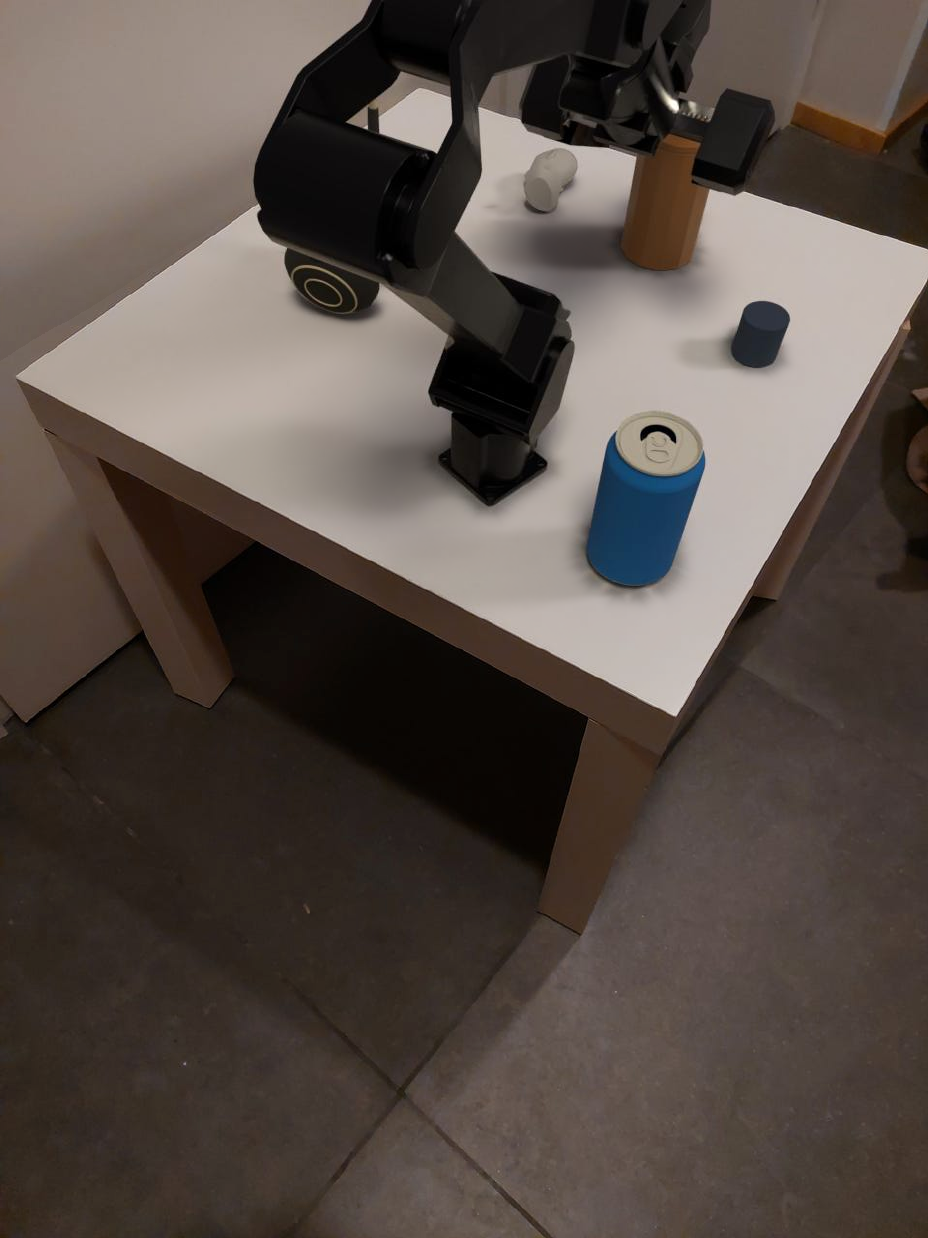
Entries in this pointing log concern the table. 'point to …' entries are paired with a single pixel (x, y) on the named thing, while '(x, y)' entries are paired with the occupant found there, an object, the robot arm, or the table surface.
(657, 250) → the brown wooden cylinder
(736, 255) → the table surface
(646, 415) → the beverage can
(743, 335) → the dark navy cylinder
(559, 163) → the pale two-lobed sculpture
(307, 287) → the headphones
